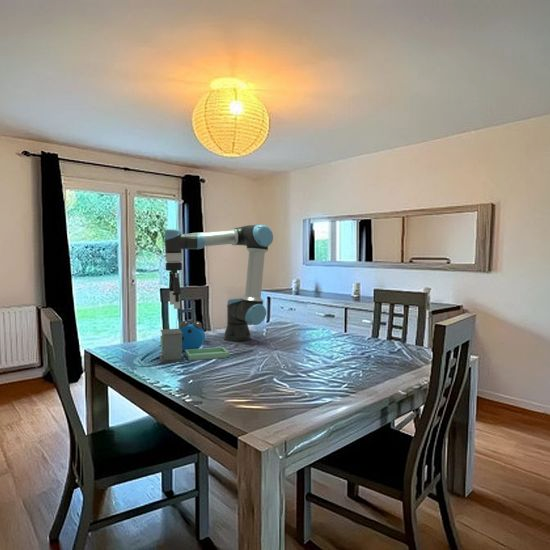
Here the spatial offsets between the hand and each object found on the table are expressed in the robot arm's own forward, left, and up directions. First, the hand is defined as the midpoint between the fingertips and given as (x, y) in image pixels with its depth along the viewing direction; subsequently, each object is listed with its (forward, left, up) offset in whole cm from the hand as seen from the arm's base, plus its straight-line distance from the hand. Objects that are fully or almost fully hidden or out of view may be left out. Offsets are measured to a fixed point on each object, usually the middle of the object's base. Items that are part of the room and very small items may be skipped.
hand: (174, 306), depth 196 cm
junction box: (+2, +7, -24) cm, 25 cm away
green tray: (-14, +7, -24) cm, 28 cm away
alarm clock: (-9, -5, -24) cm, 26 cm away
